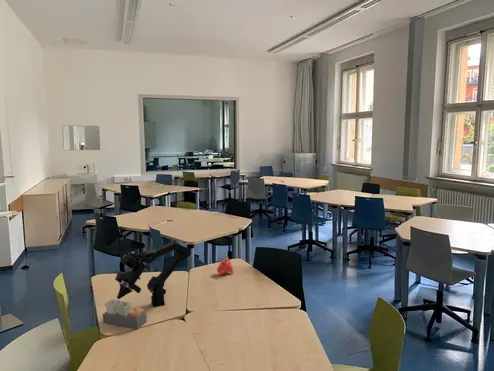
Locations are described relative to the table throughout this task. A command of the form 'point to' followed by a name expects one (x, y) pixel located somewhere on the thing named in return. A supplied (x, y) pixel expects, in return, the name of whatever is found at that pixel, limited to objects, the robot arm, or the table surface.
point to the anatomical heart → (225, 267)
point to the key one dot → (112, 306)
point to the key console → (125, 320)
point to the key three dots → (135, 312)
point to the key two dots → (123, 308)
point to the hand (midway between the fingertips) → (117, 298)
